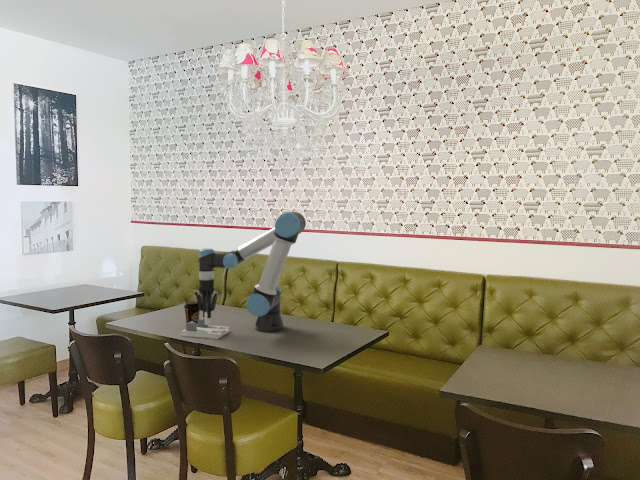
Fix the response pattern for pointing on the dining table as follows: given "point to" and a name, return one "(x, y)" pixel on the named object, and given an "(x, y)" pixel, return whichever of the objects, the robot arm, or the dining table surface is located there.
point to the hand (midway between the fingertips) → (207, 324)
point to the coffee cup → (192, 311)
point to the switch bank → (207, 332)
